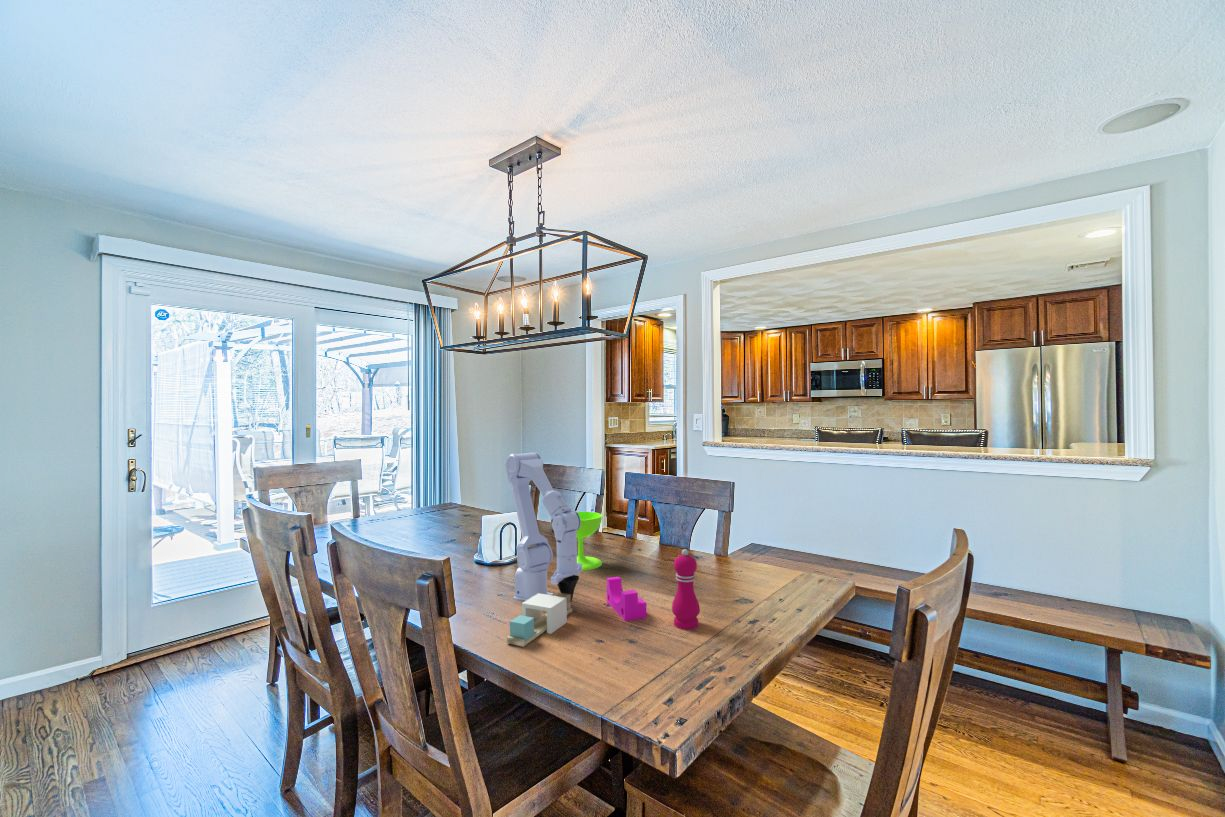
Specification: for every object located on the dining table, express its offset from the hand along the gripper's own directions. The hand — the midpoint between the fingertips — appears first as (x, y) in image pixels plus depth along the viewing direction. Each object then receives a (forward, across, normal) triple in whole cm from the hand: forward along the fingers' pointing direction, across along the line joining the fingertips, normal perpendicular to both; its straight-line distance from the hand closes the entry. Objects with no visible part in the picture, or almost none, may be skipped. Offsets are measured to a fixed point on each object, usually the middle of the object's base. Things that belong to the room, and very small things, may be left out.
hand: (567, 602), depth 150 cm
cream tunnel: (+2, -12, 0) cm, 12 cm away
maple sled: (+2, -19, 0) cm, 19 cm away
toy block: (+3, +6, -15) cm, 17 cm away
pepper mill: (+2, +3, -34) cm, 34 cm away
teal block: (+1, -22, 0) cm, 22 cm away
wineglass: (+2, +40, +17) cm, 44 cm away
